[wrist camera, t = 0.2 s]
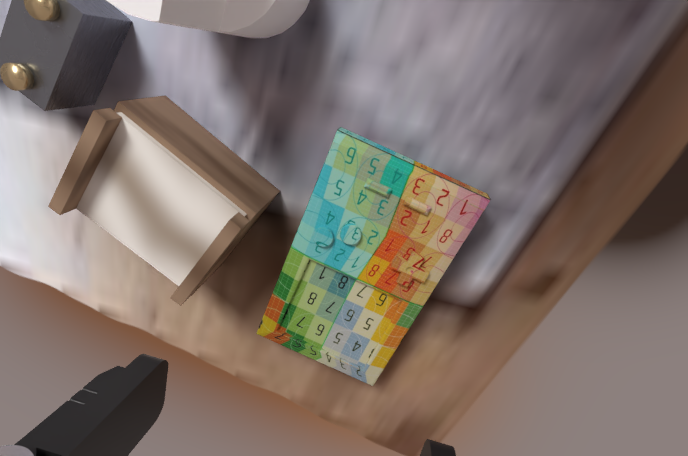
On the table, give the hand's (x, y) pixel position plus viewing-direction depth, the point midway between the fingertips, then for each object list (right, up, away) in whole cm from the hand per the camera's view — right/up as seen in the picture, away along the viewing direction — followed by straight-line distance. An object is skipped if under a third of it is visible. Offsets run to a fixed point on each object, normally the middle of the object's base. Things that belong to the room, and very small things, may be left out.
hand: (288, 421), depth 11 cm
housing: (-19, +20, +20) cm, 34 cm away
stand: (-12, +9, +23) cm, 27 cm away
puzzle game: (+3, +3, +23) cm, 24 cm away
